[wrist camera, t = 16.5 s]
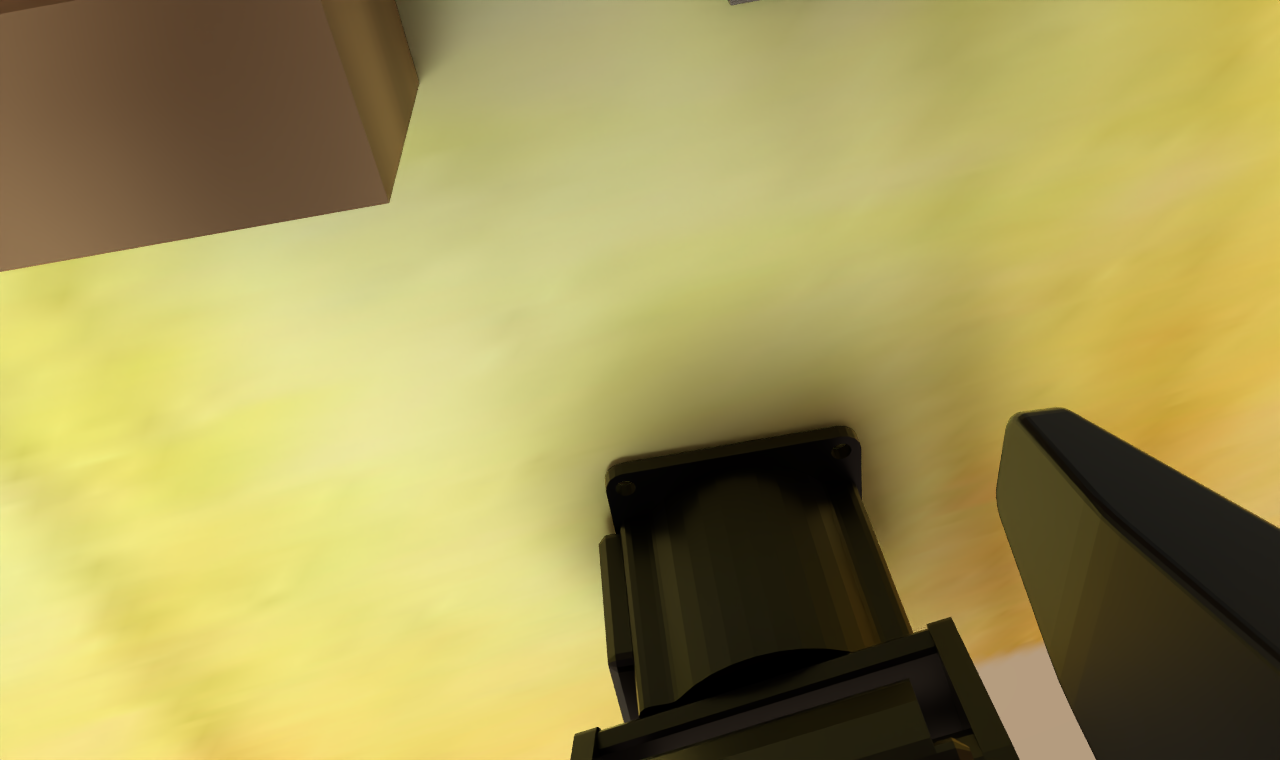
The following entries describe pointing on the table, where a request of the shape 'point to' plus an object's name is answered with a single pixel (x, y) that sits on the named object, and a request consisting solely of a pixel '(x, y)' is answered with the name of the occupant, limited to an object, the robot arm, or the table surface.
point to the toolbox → (192, 118)
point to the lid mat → (739, 1)
